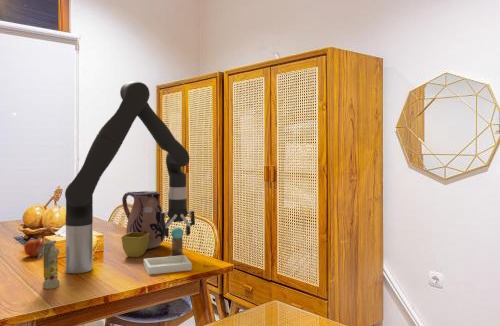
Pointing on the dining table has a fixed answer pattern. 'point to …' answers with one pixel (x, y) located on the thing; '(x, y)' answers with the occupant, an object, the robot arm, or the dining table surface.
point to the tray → (167, 264)
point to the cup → (177, 247)
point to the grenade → (49, 264)
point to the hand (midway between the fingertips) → (177, 236)
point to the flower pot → (135, 243)
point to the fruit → (33, 247)
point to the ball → (177, 233)
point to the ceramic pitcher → (145, 216)
